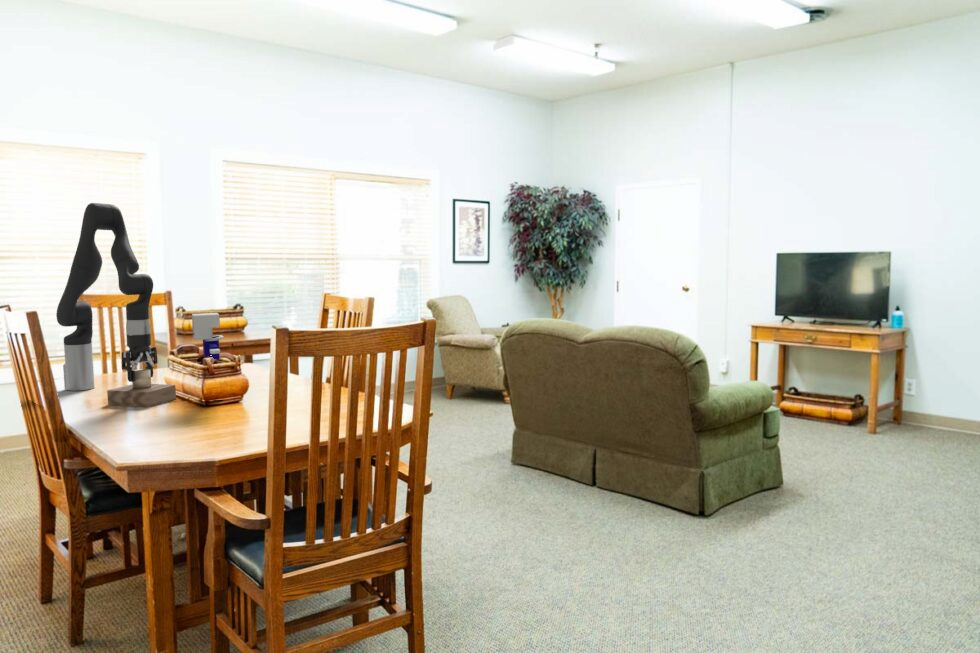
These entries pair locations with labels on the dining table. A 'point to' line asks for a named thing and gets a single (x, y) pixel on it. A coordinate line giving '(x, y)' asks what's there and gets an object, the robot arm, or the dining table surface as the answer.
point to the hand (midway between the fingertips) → (140, 379)
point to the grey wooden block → (141, 395)
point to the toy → (207, 332)
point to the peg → (142, 379)
